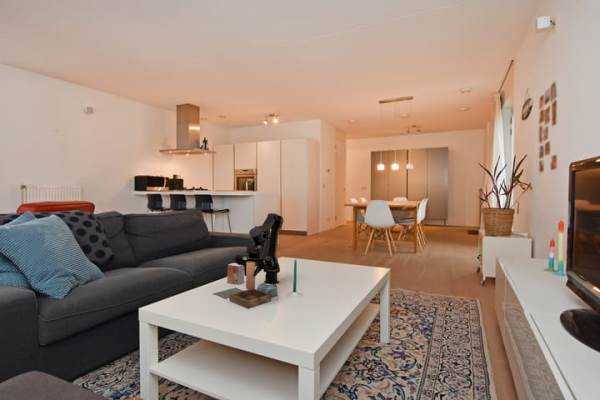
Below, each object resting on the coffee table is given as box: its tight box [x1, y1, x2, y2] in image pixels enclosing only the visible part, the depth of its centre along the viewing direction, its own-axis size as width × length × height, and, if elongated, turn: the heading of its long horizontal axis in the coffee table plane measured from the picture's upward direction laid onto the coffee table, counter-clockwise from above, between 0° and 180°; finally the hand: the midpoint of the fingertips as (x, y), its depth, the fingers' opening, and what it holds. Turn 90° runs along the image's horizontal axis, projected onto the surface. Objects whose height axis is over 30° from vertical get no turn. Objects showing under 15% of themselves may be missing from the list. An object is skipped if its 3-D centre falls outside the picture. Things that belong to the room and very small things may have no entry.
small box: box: [226, 262, 245, 286], centre depth 183 cm, size 8×6×10 cm
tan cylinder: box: [245, 261, 256, 290], centre depth 151 cm, size 4×4×12 cm
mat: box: [212, 287, 244, 300], centre depth 163 cm, size 14×11×1 cm
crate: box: [229, 288, 272, 310], centre depth 152 cm, size 14×14×4 cm
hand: (249, 276), depth 150 cm, fingers closed on tan cylinder, 4 cm apart
